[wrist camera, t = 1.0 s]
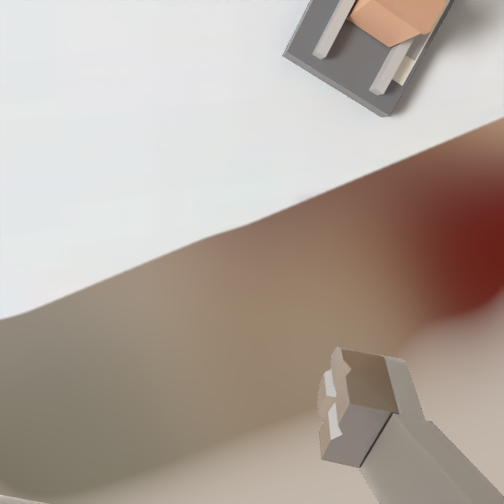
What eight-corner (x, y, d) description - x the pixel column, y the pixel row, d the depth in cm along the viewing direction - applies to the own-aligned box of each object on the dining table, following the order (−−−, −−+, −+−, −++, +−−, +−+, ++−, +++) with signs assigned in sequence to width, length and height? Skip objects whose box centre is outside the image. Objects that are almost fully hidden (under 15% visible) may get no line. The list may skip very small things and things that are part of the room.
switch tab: (389, 50, 42) (429, 32, 35) (344, 20, 41) (376, -5, 34) (410, 10, 41) (455, -16, 35) (366, -22, 40) (403, -55, 33)
